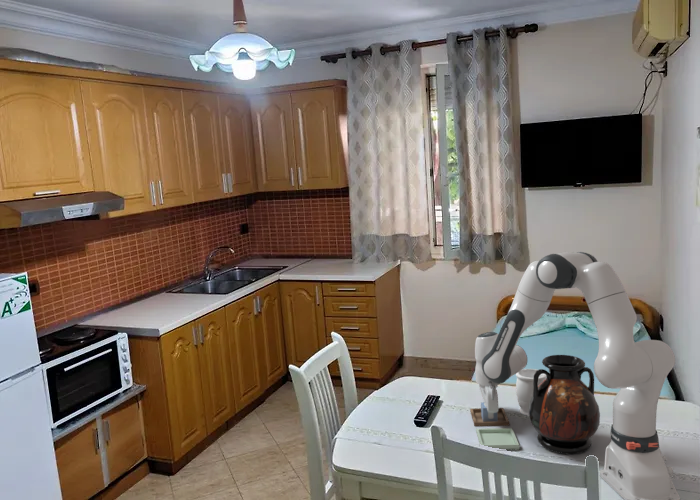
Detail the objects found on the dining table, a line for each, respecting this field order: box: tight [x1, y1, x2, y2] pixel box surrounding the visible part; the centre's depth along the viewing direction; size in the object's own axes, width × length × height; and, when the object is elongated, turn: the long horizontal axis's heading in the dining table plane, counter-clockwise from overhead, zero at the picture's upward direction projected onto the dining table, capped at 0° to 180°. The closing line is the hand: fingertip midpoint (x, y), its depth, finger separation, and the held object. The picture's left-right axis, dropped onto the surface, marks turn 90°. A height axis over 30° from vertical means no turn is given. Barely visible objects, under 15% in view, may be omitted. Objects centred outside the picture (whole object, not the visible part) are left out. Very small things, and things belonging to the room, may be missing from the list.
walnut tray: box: [469, 407, 510, 427], centre depth 208 cm, size 12×12×2 cm
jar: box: [515, 368, 546, 416], centre depth 211 cm, size 11×10×15 cm
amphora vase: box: [528, 354, 601, 455], centre depth 186 cm, size 22×22×28 cm
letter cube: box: [480, 401, 498, 422], centre depth 208 cm, size 5×5×5 cm
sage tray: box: [475, 427, 520, 451], centre depth 192 cm, size 12×12×2 cm
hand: (489, 414), depth 208 cm, fingers closed on letter cube, 5 cm apart
